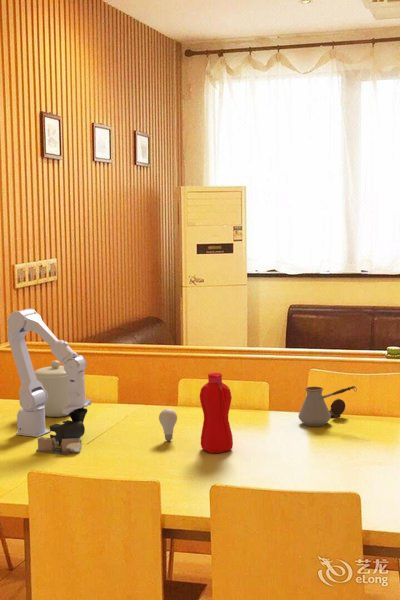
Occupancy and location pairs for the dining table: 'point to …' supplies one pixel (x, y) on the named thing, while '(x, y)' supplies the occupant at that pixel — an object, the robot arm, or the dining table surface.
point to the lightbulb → (168, 422)
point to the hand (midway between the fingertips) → (78, 429)
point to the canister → (54, 388)
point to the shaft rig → (51, 444)
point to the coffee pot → (316, 406)
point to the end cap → (68, 430)
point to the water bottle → (216, 415)
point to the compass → (337, 408)
